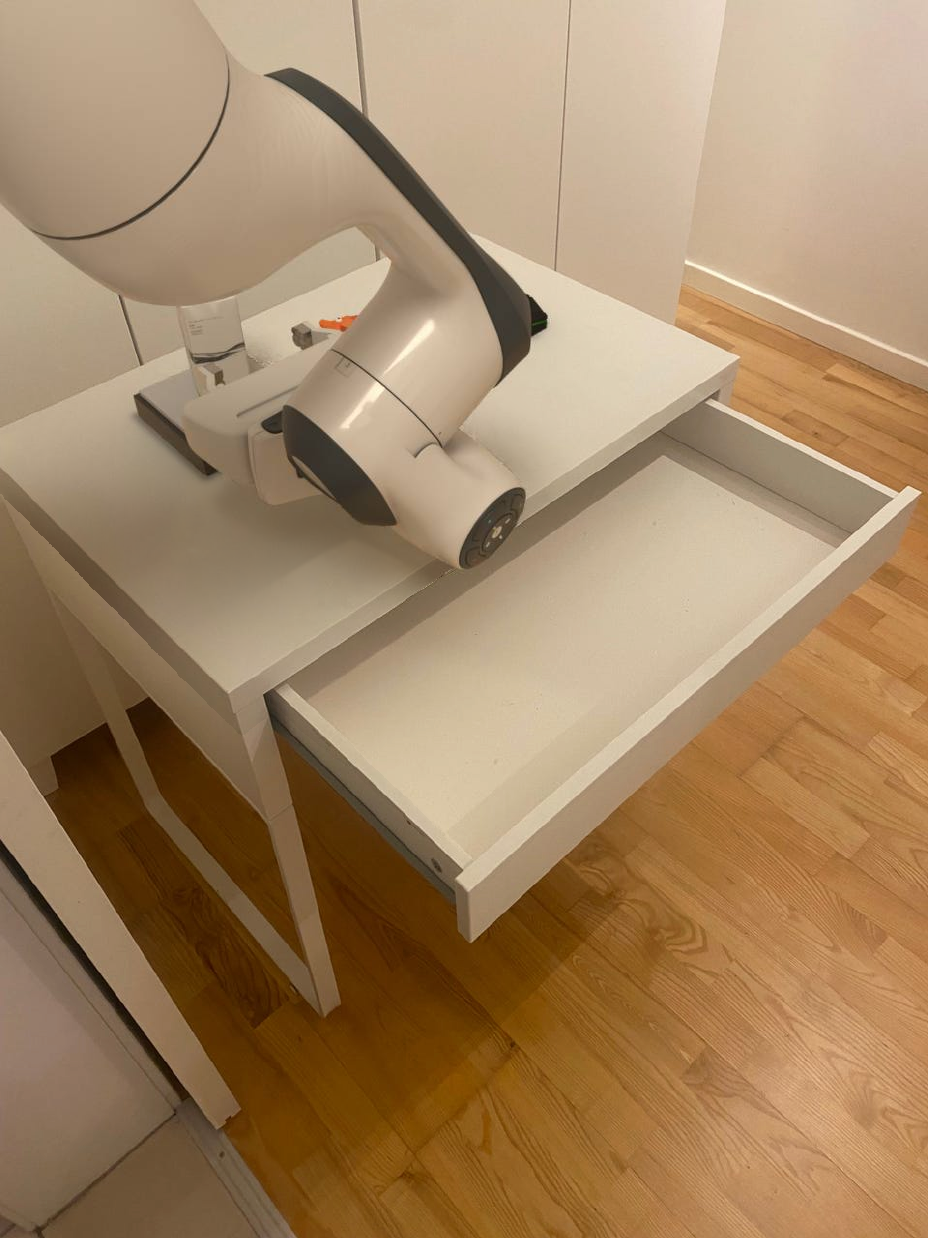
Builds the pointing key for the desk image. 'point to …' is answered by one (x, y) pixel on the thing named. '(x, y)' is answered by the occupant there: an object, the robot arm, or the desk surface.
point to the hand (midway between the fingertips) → (252, 351)
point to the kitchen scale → (174, 411)
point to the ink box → (214, 338)
